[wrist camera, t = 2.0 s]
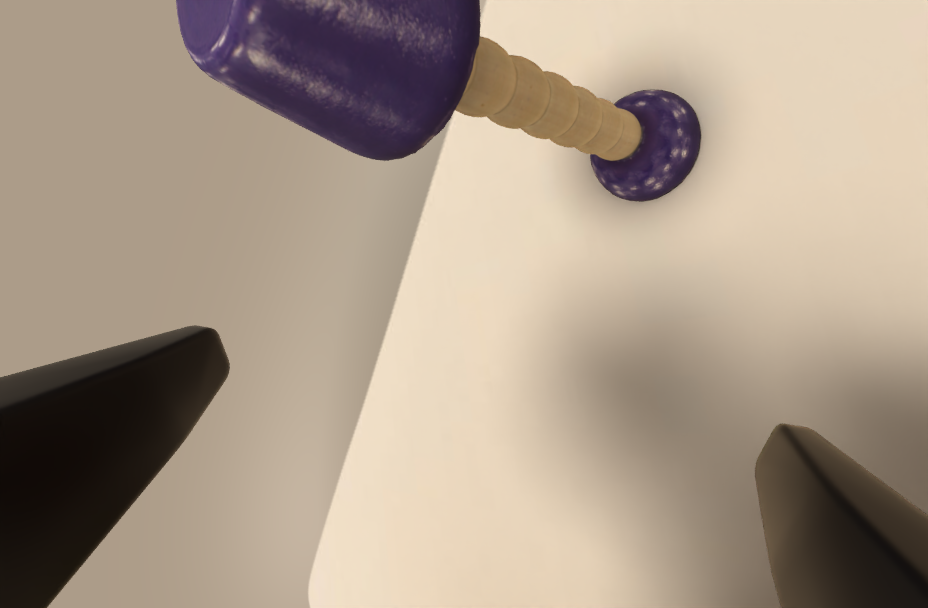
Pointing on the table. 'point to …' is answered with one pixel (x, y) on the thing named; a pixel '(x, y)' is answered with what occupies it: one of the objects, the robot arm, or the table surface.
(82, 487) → the robot arm
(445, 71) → the toy lamp
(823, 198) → the table surface
